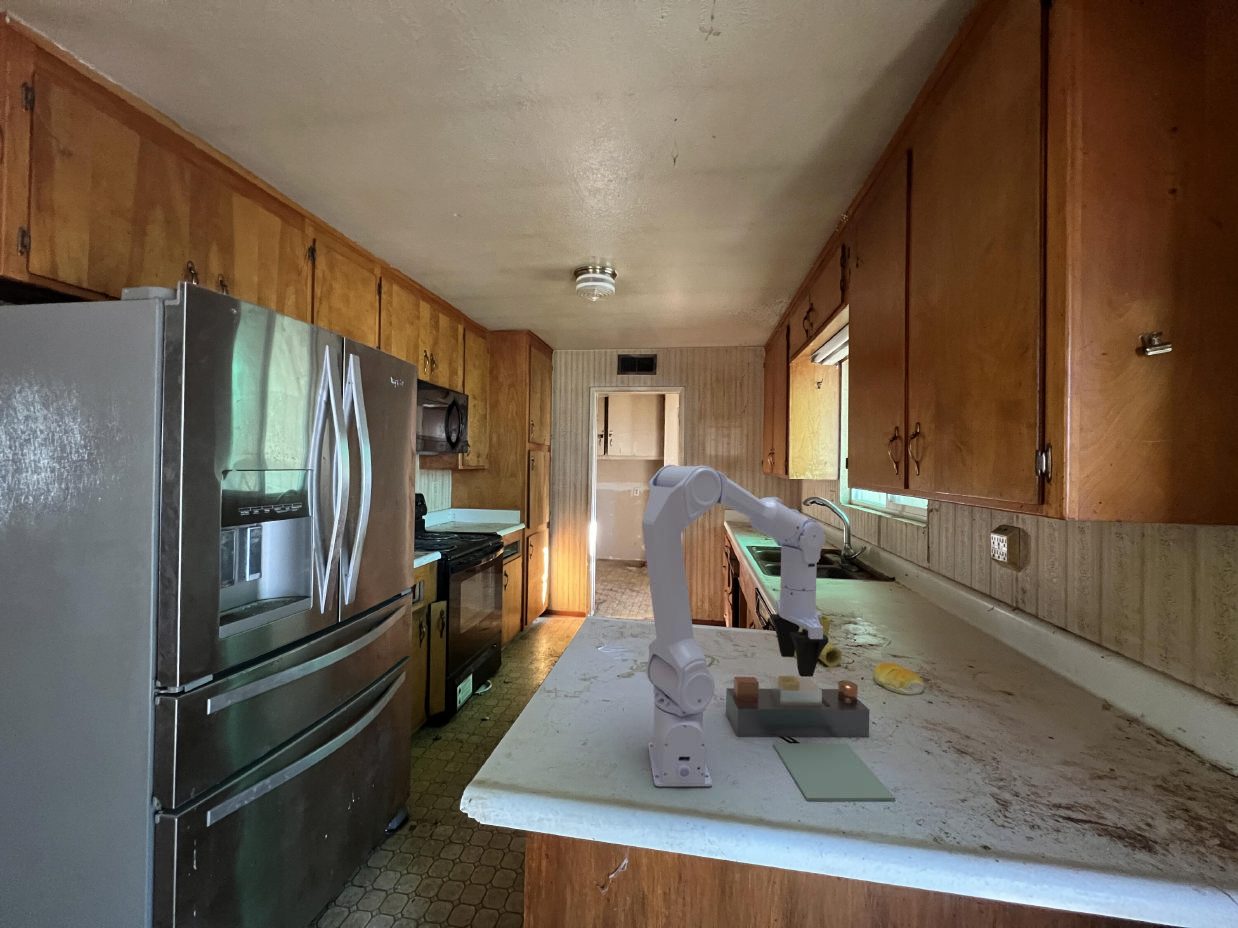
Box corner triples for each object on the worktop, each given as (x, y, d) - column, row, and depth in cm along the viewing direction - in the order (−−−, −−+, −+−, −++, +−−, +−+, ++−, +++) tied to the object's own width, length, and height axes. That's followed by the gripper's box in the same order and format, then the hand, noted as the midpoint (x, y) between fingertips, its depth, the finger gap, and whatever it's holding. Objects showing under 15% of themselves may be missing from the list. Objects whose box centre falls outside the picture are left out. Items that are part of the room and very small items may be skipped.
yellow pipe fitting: (809, 647, 116) (773, 644, 114) (817, 608, 116) (780, 603, 114) (841, 673, 104) (801, 669, 102) (850, 629, 103) (810, 624, 102)
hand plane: (868, 736, 76) (870, 690, 76) (737, 736, 75) (738, 689, 75) (846, 713, 83) (847, 671, 83) (725, 713, 82) (726, 670, 82)
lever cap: (821, 705, 77) (822, 685, 77) (780, 705, 77) (780, 684, 77) (809, 691, 82) (809, 672, 82) (770, 691, 82) (770, 672, 82)
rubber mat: (895, 800, 62) (895, 797, 62) (806, 800, 61) (806, 797, 61) (847, 745, 74) (847, 743, 74) (773, 745, 73) (773, 743, 73)
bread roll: (895, 674, 101) (895, 655, 101) (931, 694, 92) (931, 674, 92) (862, 677, 99) (863, 658, 99) (896, 697, 90) (897, 677, 90)
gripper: (842, 599, 72) (840, 685, 72) (802, 576, 87) (800, 648, 87) (798, 598, 72) (796, 685, 72) (765, 576, 87) (763, 648, 87)
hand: (796, 665), depth 79 cm, fingers open, 7 cm apart
